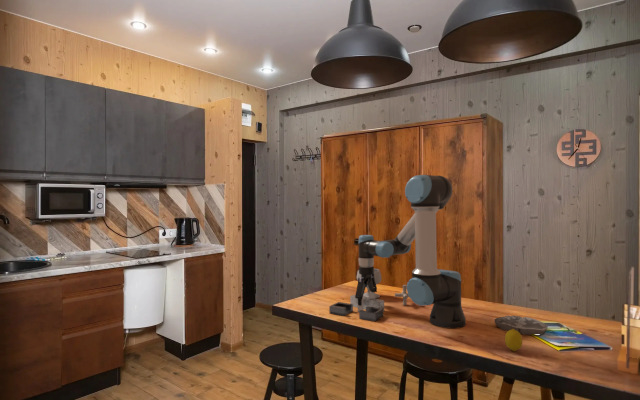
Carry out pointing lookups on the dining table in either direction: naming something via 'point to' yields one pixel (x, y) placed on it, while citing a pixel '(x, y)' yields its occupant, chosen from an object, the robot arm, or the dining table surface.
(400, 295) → the pipe connector
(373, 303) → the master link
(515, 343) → the lemon
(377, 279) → the chalice
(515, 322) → the mottled grey flat slab
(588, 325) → the dining table surface
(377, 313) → the dark grey open boxes
